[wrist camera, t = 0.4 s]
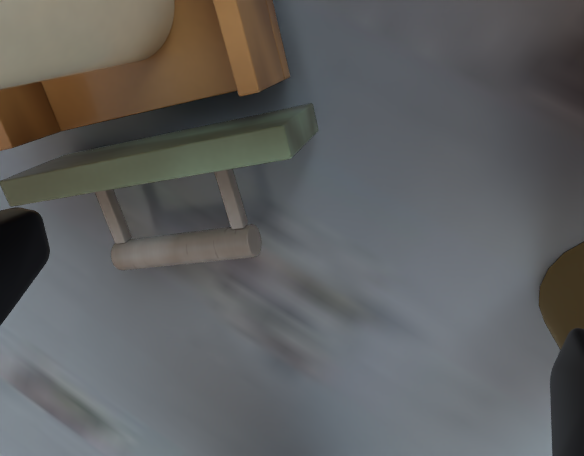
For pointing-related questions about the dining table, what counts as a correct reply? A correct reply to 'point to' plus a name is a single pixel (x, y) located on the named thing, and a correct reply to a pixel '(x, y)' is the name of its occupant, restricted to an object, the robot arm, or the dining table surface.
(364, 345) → the dining table surface
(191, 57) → the drawer
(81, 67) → the bottle
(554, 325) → the pepper mill
